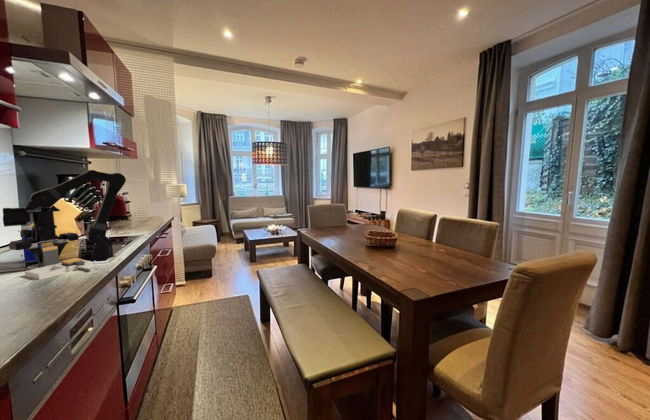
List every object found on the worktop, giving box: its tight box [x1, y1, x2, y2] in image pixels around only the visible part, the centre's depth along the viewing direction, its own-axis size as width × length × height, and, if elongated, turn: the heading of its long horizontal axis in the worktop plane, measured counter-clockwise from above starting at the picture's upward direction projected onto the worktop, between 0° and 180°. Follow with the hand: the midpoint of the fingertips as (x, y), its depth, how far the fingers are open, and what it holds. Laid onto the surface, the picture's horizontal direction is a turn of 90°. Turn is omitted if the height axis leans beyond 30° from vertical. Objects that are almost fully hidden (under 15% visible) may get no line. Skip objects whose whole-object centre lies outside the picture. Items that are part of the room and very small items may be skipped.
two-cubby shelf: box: [24, 259, 93, 280], centre depth 103 cm, size 16×9×2 cm, turn 160°
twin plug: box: [60, 257, 91, 273], centre depth 105 cm, size 4×12×4 cm, turn 69°
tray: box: [26, 259, 62, 270], centre depth 107 cm, size 9×9×1 cm
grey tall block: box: [37, 244, 60, 268], centre depth 107 cm, size 4×4×8 cm
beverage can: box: [20, 225, 42, 263], centre depth 114 cm, size 5×5×15 cm
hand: (48, 261), depth 107 cm, fingers closed on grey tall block, 4 cm apart
